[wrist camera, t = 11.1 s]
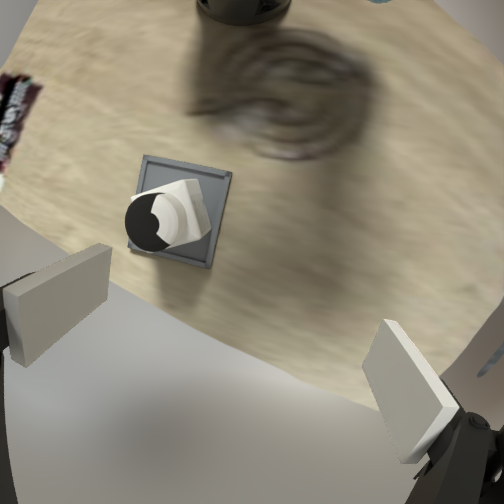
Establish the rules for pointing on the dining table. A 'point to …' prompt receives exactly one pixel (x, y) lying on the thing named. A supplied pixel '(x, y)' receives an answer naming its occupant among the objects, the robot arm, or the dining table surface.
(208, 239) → the tray
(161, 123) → the dining table surface
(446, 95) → the dining table surface
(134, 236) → the container
